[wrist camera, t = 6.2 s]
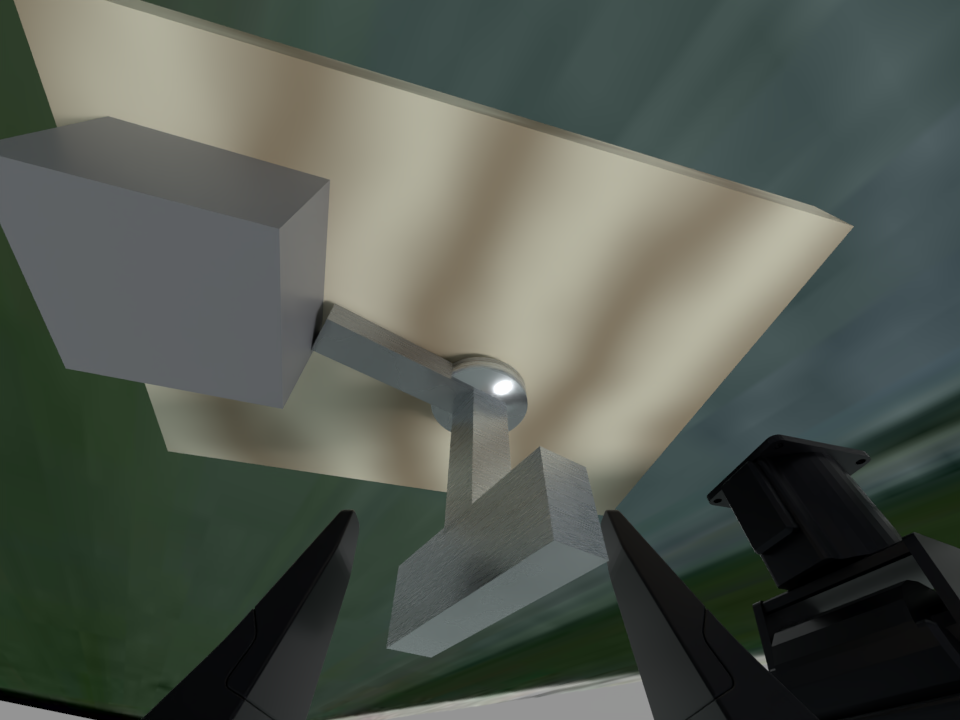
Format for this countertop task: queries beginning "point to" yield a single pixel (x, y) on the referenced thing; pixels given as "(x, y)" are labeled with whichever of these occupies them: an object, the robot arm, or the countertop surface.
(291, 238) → the cover
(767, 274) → the panel
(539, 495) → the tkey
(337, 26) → the countertop surface
